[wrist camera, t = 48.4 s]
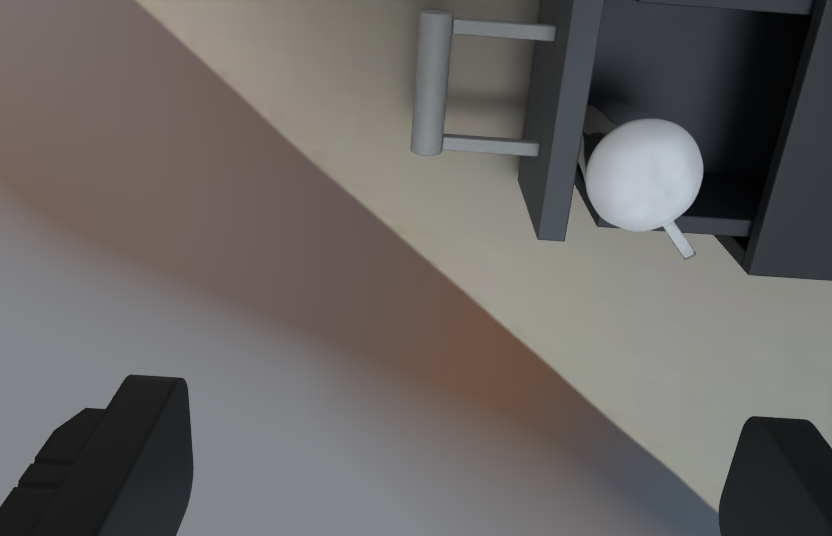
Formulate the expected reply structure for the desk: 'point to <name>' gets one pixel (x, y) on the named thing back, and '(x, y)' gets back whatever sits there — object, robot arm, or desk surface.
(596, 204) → the milkshake
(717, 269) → the desk surface
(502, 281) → the desk surface
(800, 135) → the small filing cabinet
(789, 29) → the drawer
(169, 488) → the robot arm
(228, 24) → the desk surface
